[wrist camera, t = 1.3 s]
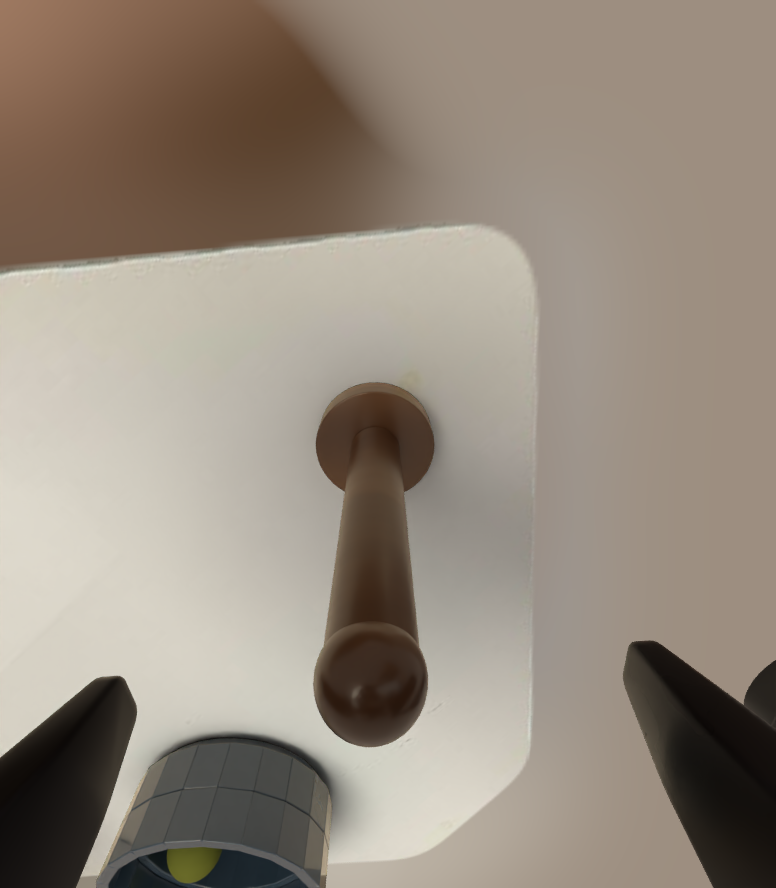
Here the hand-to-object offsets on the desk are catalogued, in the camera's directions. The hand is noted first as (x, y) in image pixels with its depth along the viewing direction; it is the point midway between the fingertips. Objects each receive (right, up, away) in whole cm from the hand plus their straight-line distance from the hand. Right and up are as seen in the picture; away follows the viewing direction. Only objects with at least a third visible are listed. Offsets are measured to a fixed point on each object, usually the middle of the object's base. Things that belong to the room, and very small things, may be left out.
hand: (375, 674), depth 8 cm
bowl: (-9, -17, +19) cm, 27 cm away
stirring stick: (0, +4, +10) cm, 11 cm away
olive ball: (-11, -19, +18) cm, 28 cm away
